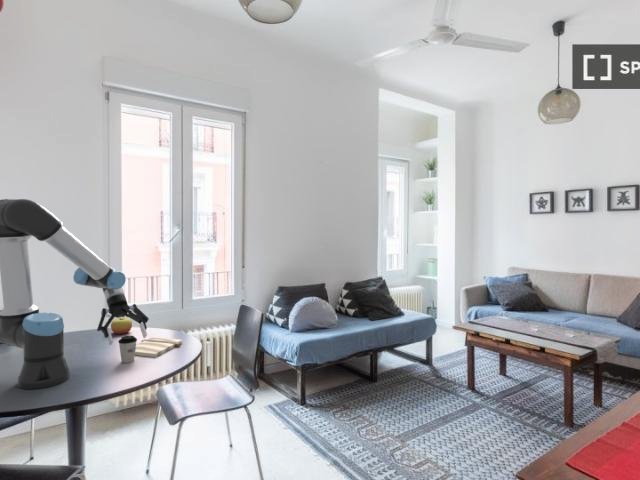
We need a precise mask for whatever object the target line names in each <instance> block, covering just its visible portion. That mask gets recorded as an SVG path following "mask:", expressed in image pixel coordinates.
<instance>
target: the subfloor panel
mask: <svg viewBox="0 0 640 480" xmlns="http://www.w3.org/2000/svg"><path fill="white" fill-rule="evenodd" d="M182 344H183V340H182V339H175V338H165V337H153V336H152V337H150V338H148V339H142V340H141V342H139V343H136V349H135V356H139V357H141V356H142V357H150V358H157V357H159V356H160V355H162V354H164V353H167V352H168V351H170V350H172V349H174V348H179V347H181V345H182Z"/></svg>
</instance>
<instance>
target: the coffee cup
mask: <svg viewBox="0 0 640 480" xmlns="http://www.w3.org/2000/svg"><path fill="white" fill-rule="evenodd" d="M137 342H138V339H137V337H135V336H134V335H125V336H122V337H120V339H119V340H118V344H119V353H120V360H121V363H122V364H130V363H133V362H135V357H136V355H135V349H136V345H137Z"/></svg>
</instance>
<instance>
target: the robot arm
mask: <svg viewBox="0 0 640 480" xmlns="http://www.w3.org/2000/svg"><path fill="white" fill-rule="evenodd" d="M32 237H33V238H35V239H37V240H38V241H39V242H45V243H47V244H48V245H50V246H51V247H52V248H53V249H54V250H56V251H57V252H58V253H60V254H61V255H62V256H64V258H66V259H67V260H68V261H70V262H71V263H73V264H74V265H75V266H76V267H78V268H77V269H76V270H75V271H74V274H73V277H72V279H73V281H74V283H75V284H77V285H80V286H86V287H91V288H93V287H94V288H97V289H98V288H99V289H102V291H103V294H104V297H105V301H106V304H107V307H108V308H106V307H105V308H104V307H103V308H102V310H101V311H100V314H101V317H100V319H99V322H98V326H97V329H96V331H97V332H101V333H103V336H104V338H107V341H108V342H107V343H108V344H109V346H112V345H113V342H114V340H113V336H112V333H111V328H110V327H109V326H111V323H112V322H113V320H115V318H116V319H118V318H129V319H130V320H133V321H134V322H137V323H138V324H139V329H140V332H141V335H142V337H143V339H145V338H146V339H147V336H148V333H147V328H148V327H147V324H146V323H148V321H149V320H150V319H149V317H148V316H147V315H146V314H145V313H143V312H142V311H141V310H140V309H139V308H138V306H137V304H135V303H133V304H132V305H129V304H128V301H127V298H126V295H125V292H124V289H123V287H124V285H125V283H126V278H127V277H126V275H125V273H124V272H122V271H120V270H117V269H116V268H114V267H110V265H109V264H107V263H106V262H105V261H104V260H103V259H101V258H100V257H99V256H98V255H97V254H96V253H94V251H92V250H91V249H90V248H88V247H87V246H86V245H85V244H84V243H83V242H82V241H80V240H79V239H78V238H77V237H76V236H74V234H73V233H72V232H70V231H69V230H67V228H65V227H64V226H63V222H62V221H61V219H60V218H58V217H57V216H56V215H55V214H53V213H52V212H51V211H50V210H49V209H47V208H46V207H44V206H43V205H41V204H40V203H38V202H36V201H33V200H31V199H26V198H18V199H13V198H11V199H10V198H9V199H8V198H6V199H5V198H4V199H0V282H1V284H0V285H1V293H2V301H3V302H2V304H3V308H2V309H1V310H0V342H1V343H2V344H4V345H6V346H8V347H15V348H19V349H23V362H22V367H21V369H20V373H19V376H18V377H17V387H18V388H19V389H23V390H37V389H44V388H49V387H52V386H55V385H59V384H61V383H64V382H65V381H67V380H68V379H69V378H70V376H71V374H70V371H71V370H70V368H69V366H68V363H67V361H66V359H65V356H64V355H65V352H64V351H65V350H64V347H65V345H64V343H65V342H64V334H65V333H64V330H65V329H64V328H65V324H64V320H63V316H61V315H60V314H57V313H52V312H40V311H39V310H40V308H39V306H37V305H36V304H35V303H34V300H33V289H32V288H33V287H32V277H31V266H30V265H31V264H30V255H29V243H28V241H29V240H30V239H31V238H32ZM108 313H109V314H110V317H109V318H108V320H107V321H106V322H105V324H104V326H103V323H104V320H105V318H106V315H108Z"/></svg>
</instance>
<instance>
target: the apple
mask: <svg viewBox="0 0 640 480" xmlns="http://www.w3.org/2000/svg"><path fill="white" fill-rule="evenodd" d="M132 327H133V321H132V319H131V318H129V317H119V318H114V319H113V320H112V322H111V323H110V331H112V333H114V334H116V335H124V334H127V333H128V332H130V331H131V330H132Z"/></svg>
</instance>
